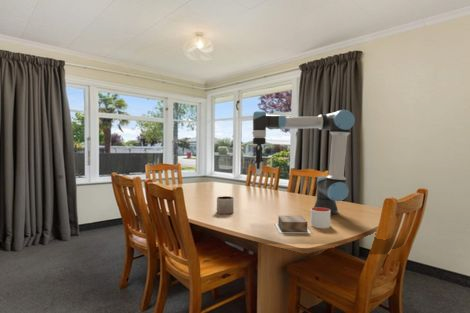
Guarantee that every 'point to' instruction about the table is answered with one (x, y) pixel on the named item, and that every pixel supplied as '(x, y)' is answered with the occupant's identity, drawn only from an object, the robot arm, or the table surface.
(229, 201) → the planter
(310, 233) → the build board
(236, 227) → the table surface
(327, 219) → the cup
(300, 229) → the base block
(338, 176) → the robot arm
